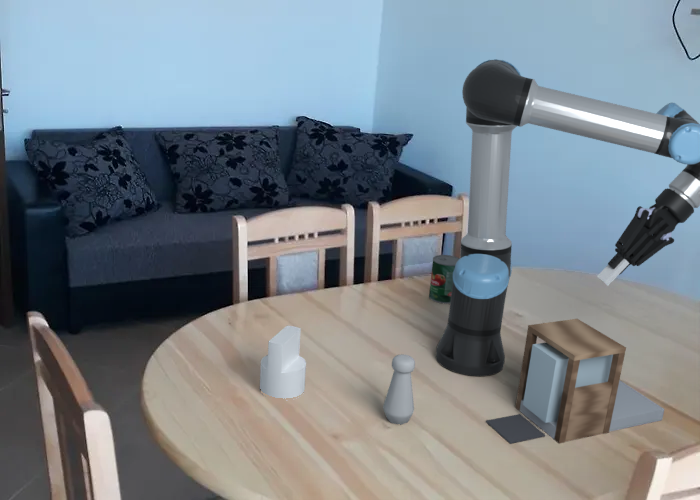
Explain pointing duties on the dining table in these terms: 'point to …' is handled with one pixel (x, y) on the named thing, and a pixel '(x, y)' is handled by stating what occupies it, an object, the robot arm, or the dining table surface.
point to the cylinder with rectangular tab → (283, 365)
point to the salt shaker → (400, 391)
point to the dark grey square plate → (515, 428)
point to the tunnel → (581, 402)
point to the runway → (615, 411)
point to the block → (557, 379)
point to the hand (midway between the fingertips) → (602, 281)
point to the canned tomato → (442, 278)
